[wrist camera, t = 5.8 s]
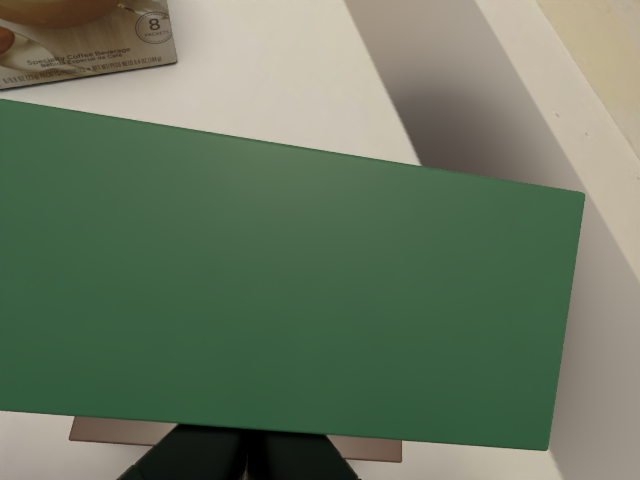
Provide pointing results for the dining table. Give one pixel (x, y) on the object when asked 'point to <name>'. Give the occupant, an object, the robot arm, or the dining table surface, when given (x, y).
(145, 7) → the coffee box
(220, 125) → the dining table surface
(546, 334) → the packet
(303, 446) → the robot arm
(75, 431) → the block
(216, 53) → the dining table surface
